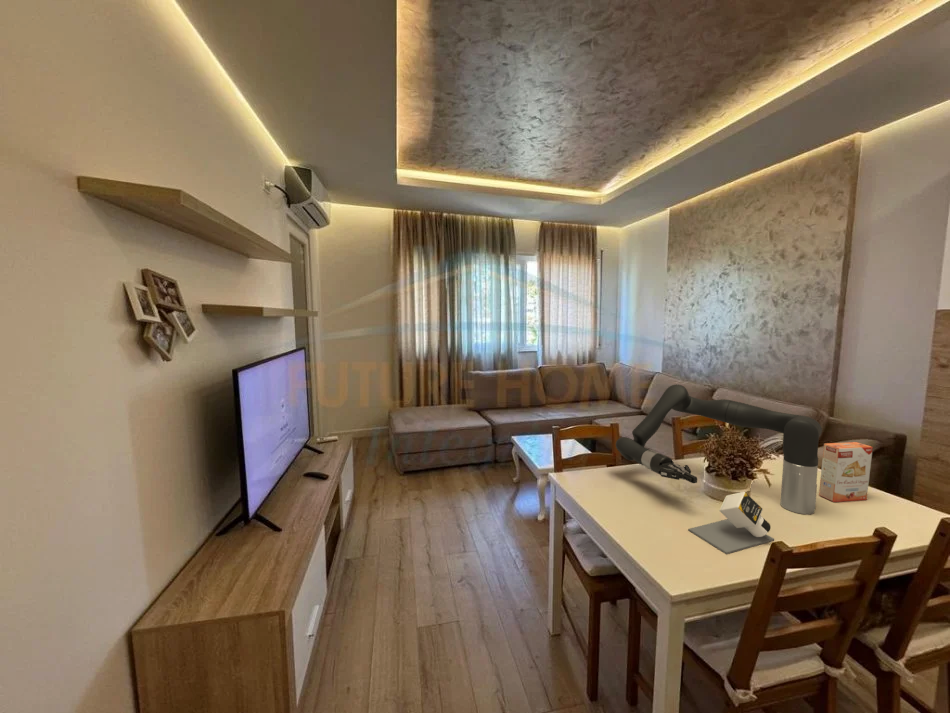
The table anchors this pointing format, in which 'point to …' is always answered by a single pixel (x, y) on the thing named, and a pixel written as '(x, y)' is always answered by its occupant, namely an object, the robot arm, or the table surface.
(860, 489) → the cracker box
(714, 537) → the placemat
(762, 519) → the medicine bottle
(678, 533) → the table surface
